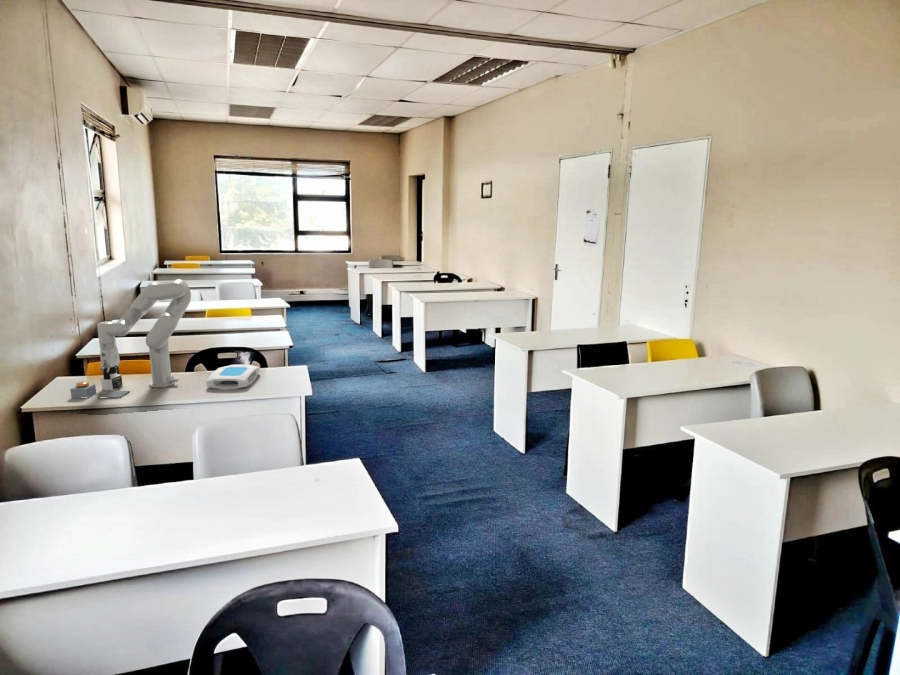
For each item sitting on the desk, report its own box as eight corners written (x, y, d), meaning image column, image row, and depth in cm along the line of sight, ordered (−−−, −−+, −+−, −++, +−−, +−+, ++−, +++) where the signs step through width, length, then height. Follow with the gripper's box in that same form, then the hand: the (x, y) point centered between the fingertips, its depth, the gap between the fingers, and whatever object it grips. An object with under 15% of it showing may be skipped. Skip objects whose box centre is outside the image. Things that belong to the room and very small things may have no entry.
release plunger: (92, 393, 308) (91, 381, 306) (86, 397, 302) (84, 384, 301) (81, 393, 307) (80, 381, 306) (75, 397, 302) (73, 384, 301)
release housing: (96, 393, 309) (95, 384, 308) (87, 398, 301) (85, 388, 300) (81, 393, 309) (79, 383, 308) (71, 398, 301) (70, 388, 300)
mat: (129, 392, 311) (129, 390, 311) (119, 398, 301) (119, 397, 301) (109, 392, 311) (108, 390, 310) (98, 398, 301) (97, 396, 301)
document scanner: (260, 374, 345) (259, 364, 344) (245, 389, 318) (245, 378, 317) (223, 374, 345) (222, 364, 343) (206, 389, 317) (205, 378, 316)
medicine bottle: (113, 391, 312) (110, 369, 310) (101, 390, 314) (98, 368, 311) (123, 387, 319) (120, 365, 317) (111, 386, 321) (108, 364, 318)
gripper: (105, 349, 303) (109, 382, 307) (123, 341, 319) (127, 372, 323) (90, 349, 303) (95, 381, 307) (110, 341, 319) (113, 372, 323)
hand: (111, 376), depth 315 cm, fingers closed on medicine bottle, 8 cm apart
